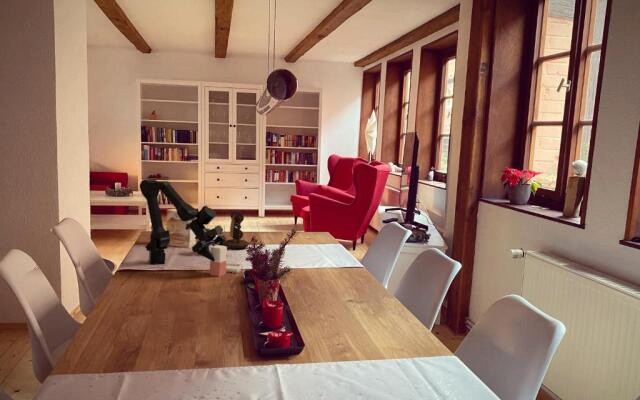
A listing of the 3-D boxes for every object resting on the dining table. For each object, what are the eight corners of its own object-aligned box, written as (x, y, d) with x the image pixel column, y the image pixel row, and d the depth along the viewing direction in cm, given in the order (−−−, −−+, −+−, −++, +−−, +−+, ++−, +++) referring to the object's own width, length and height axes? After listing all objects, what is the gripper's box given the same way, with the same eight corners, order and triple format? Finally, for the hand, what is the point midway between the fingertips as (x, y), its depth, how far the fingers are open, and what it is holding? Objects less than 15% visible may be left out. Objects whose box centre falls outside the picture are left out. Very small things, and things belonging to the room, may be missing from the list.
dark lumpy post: (219, 245, 275) (221, 210, 273) (245, 244, 281) (246, 210, 279) (226, 250, 262) (227, 214, 260) (252, 249, 268) (254, 214, 266)
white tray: (216, 271, 220) (216, 267, 220) (222, 265, 230) (223, 262, 230) (237, 273, 219) (237, 269, 219) (243, 267, 229) (243, 264, 229)
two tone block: (209, 274, 214) (210, 246, 213) (216, 272, 219) (217, 245, 217) (219, 276, 212) (220, 248, 211) (225, 274, 217) (226, 246, 216)
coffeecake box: (165, 244, 267) (166, 209, 265) (172, 242, 274) (173, 208, 272) (189, 248, 263) (190, 212, 261) (196, 245, 270) (197, 210, 268)
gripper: (198, 222, 206) (219, 251, 203) (223, 217, 223) (243, 244, 220) (182, 238, 210) (203, 267, 207) (208, 232, 227) (228, 258, 224)
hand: (220, 258), depth 214 cm, fingers open, 9 cm apart
